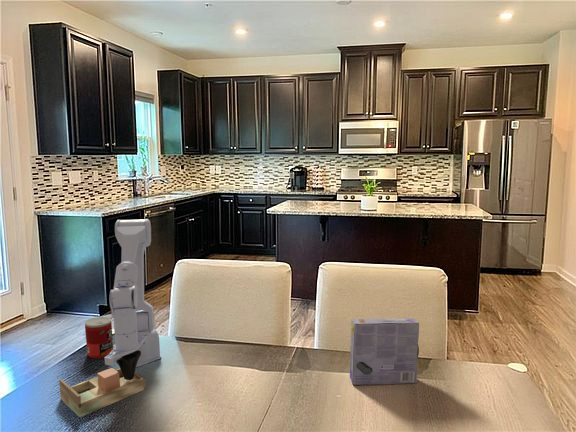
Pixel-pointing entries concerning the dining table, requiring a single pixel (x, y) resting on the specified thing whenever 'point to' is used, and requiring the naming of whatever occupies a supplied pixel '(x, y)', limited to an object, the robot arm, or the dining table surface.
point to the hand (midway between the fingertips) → (128, 378)
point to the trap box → (98, 393)
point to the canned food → (99, 337)
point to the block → (108, 380)
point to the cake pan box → (384, 351)
